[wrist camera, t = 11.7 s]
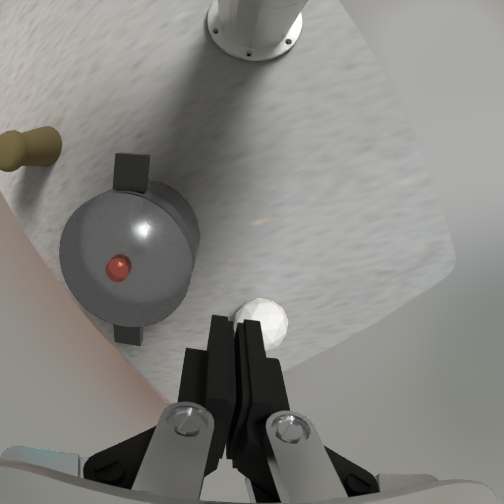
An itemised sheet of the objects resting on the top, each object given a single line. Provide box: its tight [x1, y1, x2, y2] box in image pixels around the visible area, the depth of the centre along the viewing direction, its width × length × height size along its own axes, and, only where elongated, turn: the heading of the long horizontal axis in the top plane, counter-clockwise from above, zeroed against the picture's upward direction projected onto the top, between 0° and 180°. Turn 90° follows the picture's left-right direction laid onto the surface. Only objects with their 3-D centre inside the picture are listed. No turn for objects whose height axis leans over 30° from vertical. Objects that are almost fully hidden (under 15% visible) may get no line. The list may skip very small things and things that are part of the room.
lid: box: [59, 192, 192, 327], centre depth 34 cm, size 16×16×3 cm
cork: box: [0, 127, 62, 172], centre depth 33 cm, size 6×6×11 cm
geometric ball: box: [234, 298, 288, 351], centre depth 46 cm, size 8×8×8 cm
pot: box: [99, 153, 200, 346], centre depth 40 cm, size 24×16×10 cm, turn 171°
